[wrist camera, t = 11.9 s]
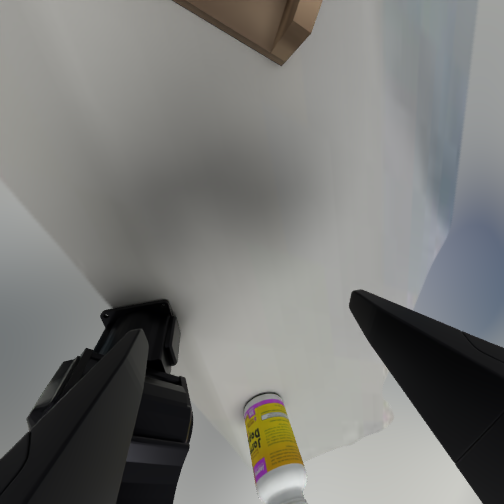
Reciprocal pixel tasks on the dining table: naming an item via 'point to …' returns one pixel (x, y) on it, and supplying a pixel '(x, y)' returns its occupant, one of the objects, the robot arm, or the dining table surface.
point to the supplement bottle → (274, 452)
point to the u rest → (261, 22)
